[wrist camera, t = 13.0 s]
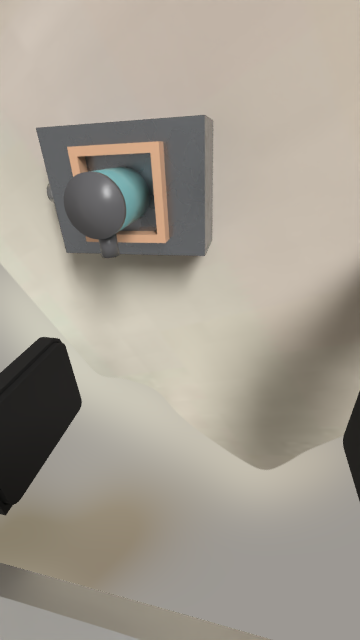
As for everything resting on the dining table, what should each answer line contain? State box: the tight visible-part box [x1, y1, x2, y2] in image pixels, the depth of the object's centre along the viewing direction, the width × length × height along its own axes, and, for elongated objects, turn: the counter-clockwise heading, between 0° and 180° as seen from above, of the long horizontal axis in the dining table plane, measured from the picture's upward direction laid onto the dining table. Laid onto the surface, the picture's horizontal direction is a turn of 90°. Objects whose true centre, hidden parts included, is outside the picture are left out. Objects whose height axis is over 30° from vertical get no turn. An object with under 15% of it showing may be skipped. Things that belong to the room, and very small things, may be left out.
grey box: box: [36, 115, 213, 256], centre depth 31 cm, size 18×12×8 cm, turn 92°
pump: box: [64, 167, 150, 258], centre depth 26 cm, size 5×7×7 cm
